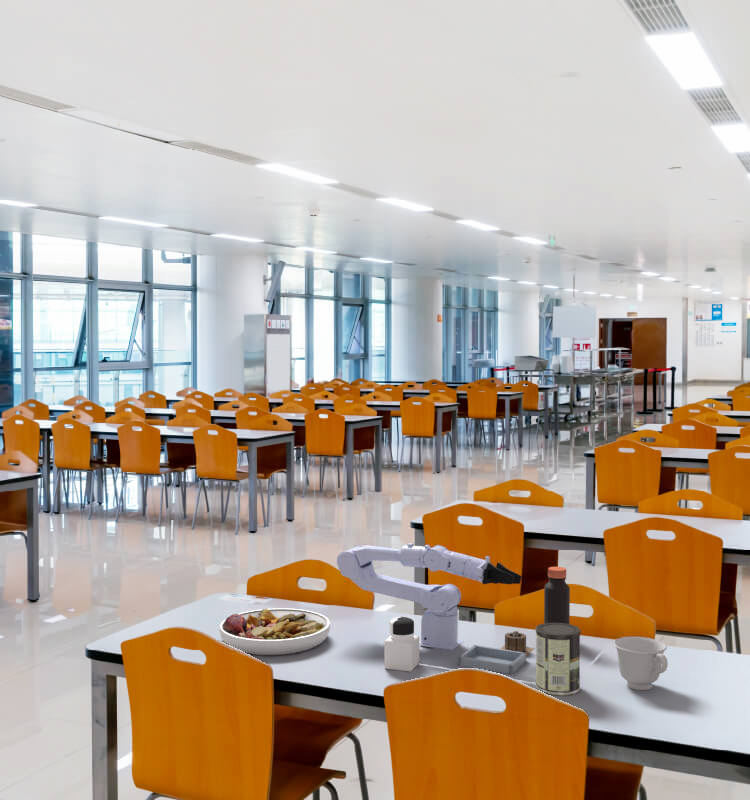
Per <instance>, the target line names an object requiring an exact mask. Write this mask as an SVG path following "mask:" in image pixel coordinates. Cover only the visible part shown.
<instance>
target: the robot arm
mask: <svg viewBox="0 0 750 800" xmlns="http://www.w3.org/2000/svg"><path fill="white" fill-rule="evenodd" d="M414 544H415V543H413V542H409V543H407V544H406V545H403V546H402V547H401V548H392V547H385V546H377V545H371V544H366V545H360V544H359V545H358V544H357V545H356V546H354V547H352V548H350V549H347V550H344V551H342V552H340V553H339V554H338V555H337V558H336V565H337V568H338V570H339V572H340V573H341V575H342V576H343V577H346V578H348V579H350V580H351V581H352V582H353V583H354V584H355V585H356V586H358V587H359V588H360V589H362V590H364V591H368V592H371V593H375V594H380V595H383V596H384V595H385V596H389V597H393V598H395V599H396V598H397V599H400V600H404V601H410V602H414V603H418V604H420V605H421V607H422V608H424V609H426V610H424V611H423V613H422V616H421V621H420V628H421V629H420V630H421V631H420V632H421V633H420V641H421V642H420V643H419V647H420V646H421V647H427V648H432V649H433V648H438V649H445V650H450V651H451V650H454V649H455V648H456V647H458V646H459V645H461V644H462V643H463V642H464V641H463V640H460V639H458V635H459V633H458V631H459V629H458V627H459V617H458V615H459V610H458V605H459V604H460V602H461V599H462V593H461V591H460V589H459V588H458V586H456V585H454V584H452V583H447V584H446V583H445V584H441V585H440V584H424V583H421V582H416V581H411V580H407V579H403V578H398V577H394V576H389V575H384V574H381V573H377V572H376V571H375V569H374V564H373V561H381V562H382V561H383V562H384V561H386V562H399V564H401V565H402V566H403V567H407V568H408V567H410V568H423V569H426V568H427V569H428V570H430V572H437V571H442V572H446V573H449V574H452V575H456V576H460V577H463V578H466V579H470V580H473V581H477V582H479V583H482V585H488V584H494V585H497V584H502V585H513V584H514V585H519V584H521V582H522V581H521V580H522V575H520V573H519V574H518V573H517V572H515V571H513V570H510V569H508V568H507V567H506V566H505V565H503V564H502V563H501V562H497V563H496V565H494V564H492V562H491V561H490V559H491V556H488V555H486V556H485V557H484V558H485V559H483V558H478V557H475V556H471V555H467V554H464V553H461V552H460V553H459V552H456V551H452V550H448V548H447V547H445V546H443V545H440V544H437V545H434V546H433V547H431V546H430V545H429V544H425V545H414Z"/></svg>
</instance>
